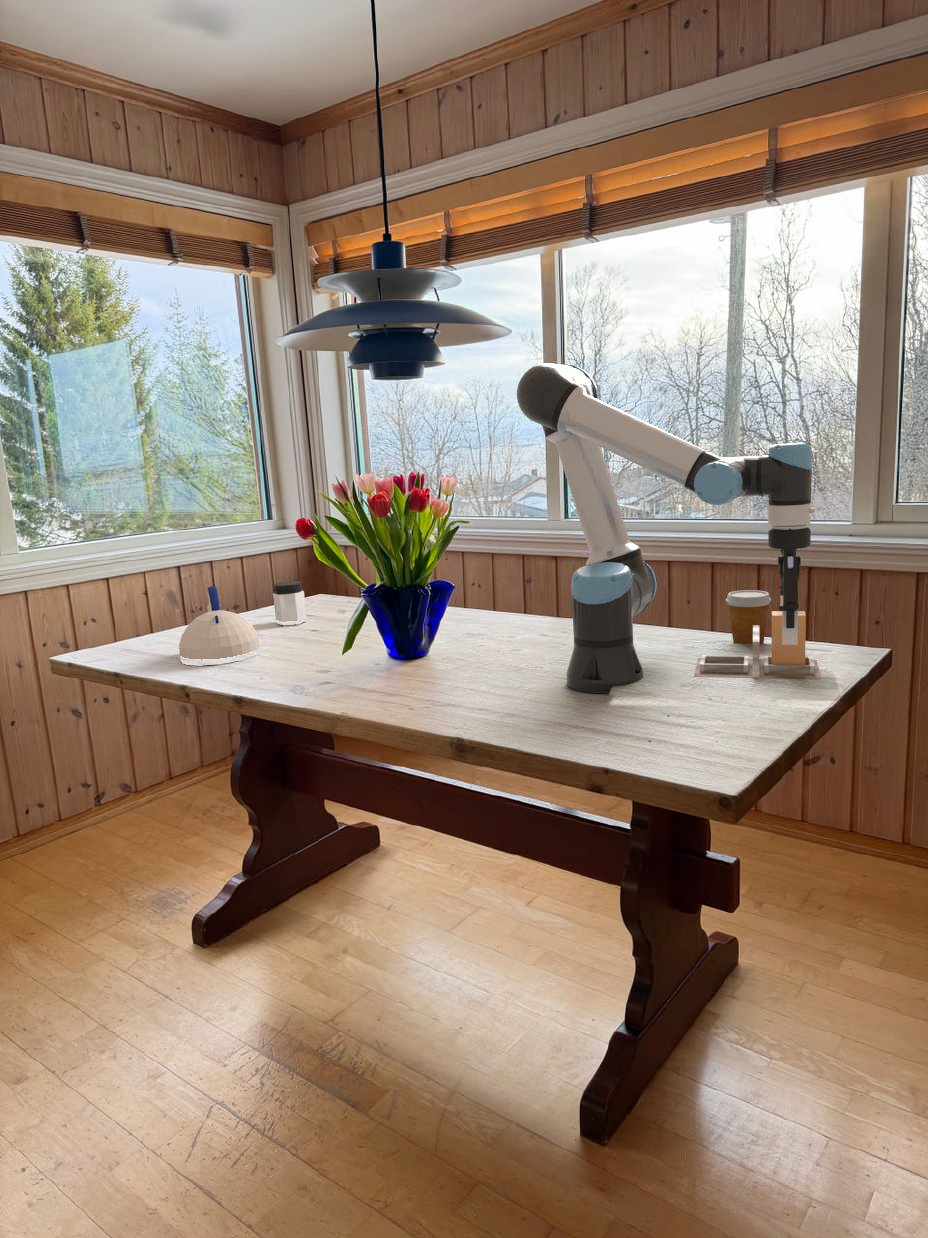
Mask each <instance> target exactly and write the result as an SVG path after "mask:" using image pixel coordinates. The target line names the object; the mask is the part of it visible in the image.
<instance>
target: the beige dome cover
mask: <svg viewBox="0 0 928 1238" xmlns="http://www.w3.org/2000/svg"><path fill="white" fill-rule="evenodd" d="M217 588H218V587H216V586H215V585H214V586H209V587H207V599H208V605H207V606H206V609H207V612H204V613H203V614H200V615H199V616H197V617H195V618H194V619H193V620H192V621H191V622H190V623H189V624H188V625H187V626H186V628H185V630H184V631H183V632H182V634H181V637H180V641H179V643H178V644H179V645H178V647H179V648H178V650H179V657H180V656H182V657H184V658H189V659H201V660H202V659H220V658H227V657H233V656H237V655H242V654H246V653H249V652H252V651H254V650H257V649H259V648H261V644H260V639H259V634H258V633H257V631H256V630H255V628H254V626H253V625H252V624H251V623H250V622H249V621H248V620H247V619H246V618H244V616H241V615H239V614H237V613H236V612H232V611H228V610H221V604H220V600H219V593H218V589H217Z"/></svg>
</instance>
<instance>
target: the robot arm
mask: <svg viewBox="0 0 928 1238" xmlns="http://www.w3.org/2000/svg"><path fill="white" fill-rule="evenodd" d="M596 384H597V383H596V382H595V380H594V378H593V377H592V376H591V375H590V374H589V373H588V371H585V370H584V369H582V368H580V367H578V366H576V365H572V364H568V363H567V364H557V363H551V362H550V363H546V362H544V363H539V364H536V365H533V366H532V367H530V368H529V369H528V370H527V371H525V372H524V374H523V375H522V377H521V378H520V380H519V382H518V384H517V389H516V400H517V404H518V406H519V409H520V411H521V412H522V414H523V415H524V416H525V417H526V418H527V419H529V420H530V421H531V422H534V423H536V424H539V425H541V426H542V429H543V432H544V436H545V439H546V440H547V441H549V442H550V443H553V444H554V445H555V447H556V450H557V452H558V456H559V458H560V461H561V465H562V468H563V473H564V475H565V477H566V481H567V484H568V487H569V490H570V493H571V497H572V499H573V502H574V503H573V504H574V507H575V509H576V513H577V515H578V519H579V523H580V525H581V528H582V533H583V534H584V538H585V542H586V545H587V548H588V551H589V556H588V558H587V560H586V562H585V565H584V566H581V567H579V568H578V569H576V570H575V571H574V572H573V573H572V576H571V585H570V595H571V609H572V627H573V628H572V629H573V630H572V631H573V632H572V633H573V645H574V646H573V649H572V653H571V656H570V659H569V664H568V667H567V671H566V684H567V686H568V688H570V689H573V690H575V691H578V692H582V693H591V694H592V693H593V694H610V692H611V691H612V689H613V688H614V687H621V686H626V685H631V684H633V683H638V682H639V681H641V680H642V679H643V678H644V670H643V668H642V665H641V662H640V659H639V656H638V653H637V651H636V648H635V645H634V626H633V625H634V621H633V620H634V619H633V618H634V617H635V616H637V615H639V614H641V613H642V612H643V611H645V610H646V609H647V608H648V607H649V606H650V604H651V603H652V601H653V599H654V598H655V596H656V593H657V584H658V583H657V577H656V574H655V572H654V570H653V569H652V567H651V566H650V565H649V564H648V563H647V562H645V560H644V557H643V554H642V551H641V548H640V546H639V545H637V544H635V543H634V542H632V541H631V540H630V538H629V534H628V531H627V528H626V524H625V522H624V519H623V518H624V517H623V515H622V511H621V508H620V506H619V502H618V499H617V496H616V493H615V490H614V486H613V482H612V480H611V476H610V472H609V469H608V466H607V463H606V461H605V457H604V454H603V451H602V449H605V450H606V451H609V452H610V453H613V454H615V455H617V456H618V457H621V458H624V460H625V459H626V460H627V461H629V462H631V463H633V464H635V465H637V466H638V467H642V468H643V469H646V470H648V471H649V472H651V473H653V474H655V475H658V476H660V477H662V478H664V479H666V480H668V481H670V482H673V483H675V484H676V485H679V486H681V487H683V488H685V489H687V490H689V491H690V492H692V493H694V494H696V496H697V497H698V498H699V499H700V501H702V502H704V503H706V504H708V505H715V506H721V505H726V504H728V503H730V502H732V501H734V500H735V499H737V498H739V497H741V498H742V497H764V496H768V501H767V502H768V504H767V525H769V527H770V528H769V529H768V535H767V536H768V537H767V539H768V541H767V542H768V543H767V544H768V545H767V546H768V547H769V548H770V549H774V550H780V552H781V554H780V555H778V557H777V566H778V572H779V579H780V586H779V590H780V591H779V593H780V598H779V601H780V602H779V603H780V604H779V605H780V606H779V605H778V611H782V645H798V611H799V606H800V605H799V589H798V588H799V581H798V580H799V579H800V575H801V574H800V567H801V563H802V561H801V559H802V558H801V556H800V555H797V550H798V549H802V550H803V549H807V548H810V546H811V541H812V540H811V536H812V535H811V533H812V531H811V528H810V527H809V526H810V524H811V514H813V513H814V512H815V508H814V507H811V505H812V504H811V503H812V499H811V498H812V477H813V476H812V475H813V474H812V469H813V466H812V448H811V446H810V445H809V444H807V443H804V442H793V443H778V444H775V443H774V444H772V445H770V446H769V447H768V452H767V455H766V454H765V455H759V456H758V455H757V456H734V457H732V456H730V457H725V456H722V457H720V456H718V455H716V454H713V453H712V452H709V451H707V450H705V449H703V448H701V447H699V446H697V445H695V444H692V443H691V442H688V441H686V440H684V439H682V438H680V437H677V436H675V435H673V434H671V433H669V432H667V431H665V430H663V429H661V428H659V427H656V426H654V425H652V424H651V423H648V422H646V421H643V420H642V419H639V418H638V417H636V416H633V415H631V414H628V413H627V412H625V411H623V410H621V409H619V408H616V407H614V406H612V405H609V404H608V403H606V402H604V401H601V400H599V399H598V398H599V391H598V387H597V385H596ZM808 525H809V526H808Z"/></svg>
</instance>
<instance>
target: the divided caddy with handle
mask: <svg viewBox="0 0 928 1238" xmlns="http://www.w3.org/2000/svg"><path fill="white" fill-rule="evenodd" d="M817 660H818V659H814V657H813V656H805V665H774V664H772V655H770V656H769V655H763V658H760V644H759V625H753V644H752V658H750V657H749V655H720V654H719V655H716V654H715V655H713V654H712V655H711V654H710V655H708V654H707V655H706V654H705V655H704V654H703V655H702V654H701V657H698V658H697V661H696V665H695V669H694V673H693V677H694V678H736V679H737V678H738V679H739V678H743V679H785V680H786V679H790V680H793V679H795V680H822V676H821V672H820V669H819V665H818V661H817Z"/></svg>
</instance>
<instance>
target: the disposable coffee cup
mask: <svg viewBox="0 0 928 1238" xmlns="http://www.w3.org/2000/svg"><path fill="white" fill-rule="evenodd" d="M725 601H726V604H727V605H728V612H729V622H730V627H731V628H730V629H731V637H732V642H733V644H741V645H742V644H745V645H746V644H747V645H748V644H749V645H750V644H752V645H753V625H759V645H760V644H761V645H763V644H765V636H766V628H767V621H768V613H769V606H770V603H771V601H772V598H771V597H770V593H769V592H768V591H764V590H756V589H753V590H752V589H748V590H747V589H746V590H745V589H744V590H735V591H730V592H729V593H728V594H727V597H726V599H725Z"/></svg>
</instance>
